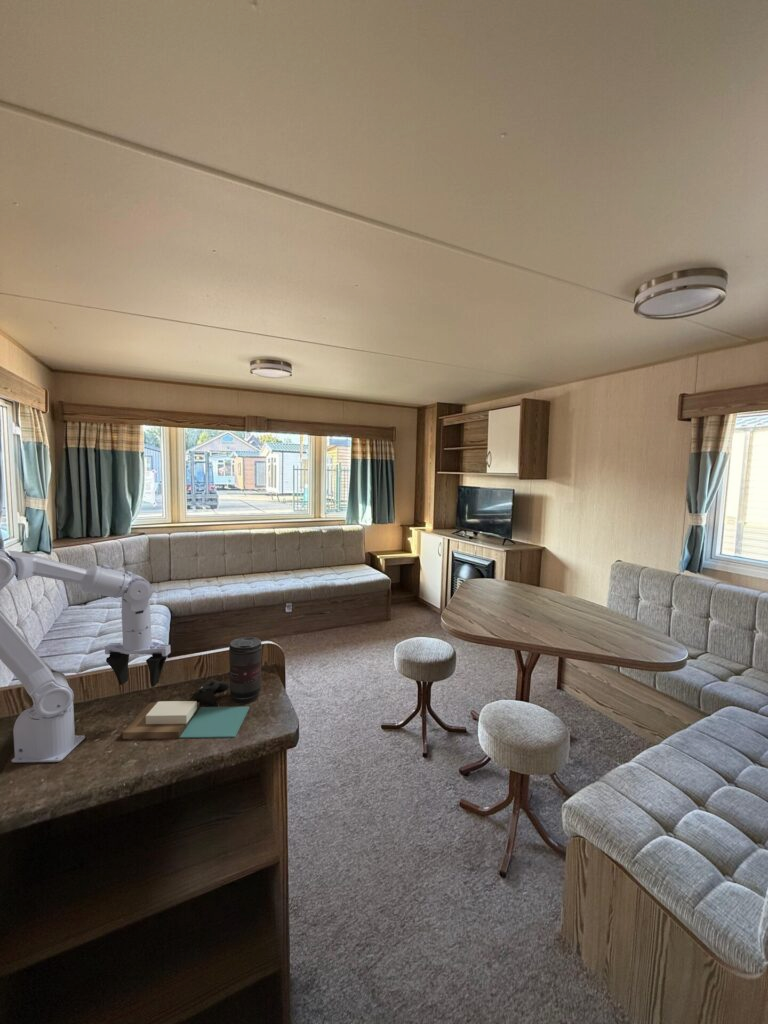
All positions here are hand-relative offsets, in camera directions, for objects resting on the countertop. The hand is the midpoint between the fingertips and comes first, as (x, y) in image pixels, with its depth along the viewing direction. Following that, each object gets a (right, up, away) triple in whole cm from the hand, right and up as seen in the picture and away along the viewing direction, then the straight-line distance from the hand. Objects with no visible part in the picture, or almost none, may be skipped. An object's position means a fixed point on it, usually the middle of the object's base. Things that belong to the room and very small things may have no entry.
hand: (139, 683), depth 98 cm
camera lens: (+21, -9, +12) cm, 26 cm away
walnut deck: (+6, -9, 0) cm, 11 cm away
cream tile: (+8, -7, 0) cm, 10 cm away
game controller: (+12, -9, +12) cm, 19 cm away
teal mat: (+18, -9, 0) cm, 20 cm away
